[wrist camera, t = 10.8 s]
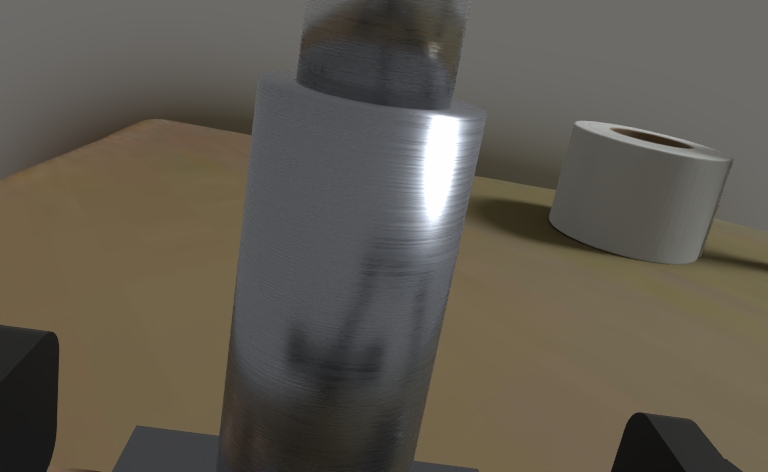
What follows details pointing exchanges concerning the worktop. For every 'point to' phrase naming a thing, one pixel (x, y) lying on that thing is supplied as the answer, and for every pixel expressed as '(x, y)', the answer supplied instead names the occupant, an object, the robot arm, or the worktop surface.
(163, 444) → the socket block
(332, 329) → the metal spray bottle
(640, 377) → the worktop surface
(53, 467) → the brown hollowed block
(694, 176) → the white toilet paper roll
